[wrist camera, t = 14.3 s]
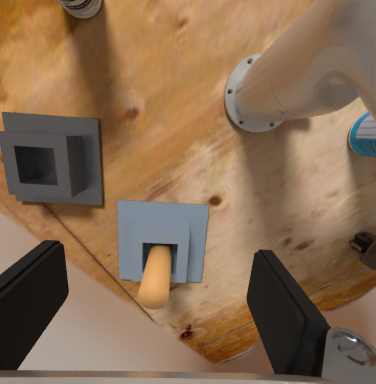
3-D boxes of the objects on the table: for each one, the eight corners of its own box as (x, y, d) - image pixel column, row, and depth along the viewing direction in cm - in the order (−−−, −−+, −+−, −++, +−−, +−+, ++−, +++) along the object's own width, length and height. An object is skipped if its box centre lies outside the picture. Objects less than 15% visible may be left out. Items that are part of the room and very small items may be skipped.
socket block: (208, 204, 41) (212, 216, 36) (200, 278, 46) (203, 299, 40) (118, 199, 40) (108, 210, 35) (120, 276, 45) (112, 296, 40)
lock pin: (173, 235, 42) (169, 284, 28) (172, 254, 43) (168, 309, 30) (151, 234, 42) (137, 283, 28) (151, 253, 43) (138, 308, 29)
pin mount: (99, 119, 36) (84, 116, 30) (103, 203, 40) (91, 215, 35) (6, 112, 35) (-28, 108, 30) (20, 199, 40) (-7, 210, 34)
